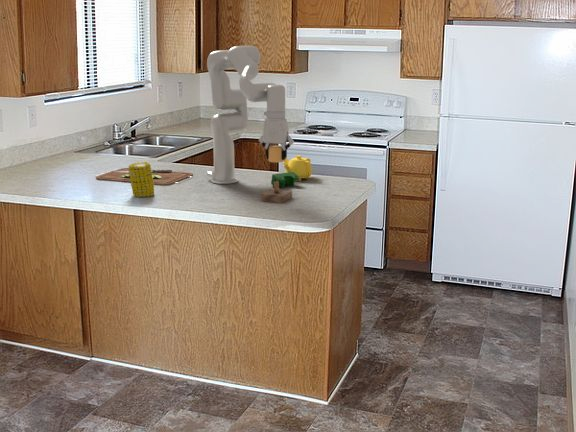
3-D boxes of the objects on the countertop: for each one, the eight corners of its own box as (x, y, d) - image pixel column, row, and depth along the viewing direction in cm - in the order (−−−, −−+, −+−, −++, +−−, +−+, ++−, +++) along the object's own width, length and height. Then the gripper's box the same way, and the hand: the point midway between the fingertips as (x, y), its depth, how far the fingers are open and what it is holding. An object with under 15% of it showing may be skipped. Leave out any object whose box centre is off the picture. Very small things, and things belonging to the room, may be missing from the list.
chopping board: (88, 180, 357) (88, 173, 357) (120, 169, 382) (119, 163, 381) (172, 187, 342) (172, 180, 341) (199, 176, 366) (199, 170, 366)
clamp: (280, 197, 340) (276, 181, 334) (273, 192, 344) (269, 176, 339) (302, 185, 344) (298, 169, 338) (295, 179, 348) (291, 164, 342)
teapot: (283, 175, 365) (283, 152, 362) (311, 175, 365) (311, 153, 362) (283, 182, 351) (283, 158, 348) (312, 182, 351) (312, 158, 348)
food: (156, 200, 323) (132, 202, 320) (153, 188, 333) (129, 191, 330) (154, 167, 315) (129, 170, 313) (150, 156, 325) (126, 159, 323)
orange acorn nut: (266, 161, 312) (266, 147, 310) (272, 159, 317) (272, 145, 316) (280, 162, 310) (280, 148, 308) (285, 160, 315) (285, 146, 314)
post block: (260, 200, 315) (260, 183, 313) (270, 195, 324) (270, 178, 322) (283, 203, 312) (283, 185, 310) (291, 197, 321) (291, 180, 319)
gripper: (253, 115, 309) (253, 159, 313) (292, 117, 302) (292, 161, 307) (260, 113, 315) (260, 156, 320) (299, 115, 309) (298, 158, 314)
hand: (276, 158), depth 313 cm, fingers closed on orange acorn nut, 6 cm apart
